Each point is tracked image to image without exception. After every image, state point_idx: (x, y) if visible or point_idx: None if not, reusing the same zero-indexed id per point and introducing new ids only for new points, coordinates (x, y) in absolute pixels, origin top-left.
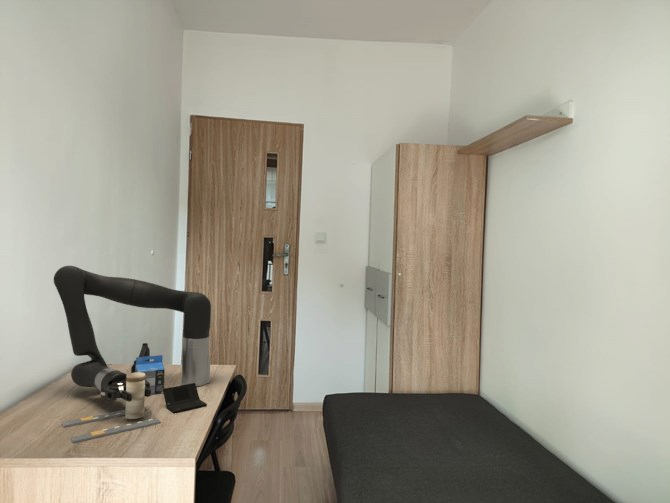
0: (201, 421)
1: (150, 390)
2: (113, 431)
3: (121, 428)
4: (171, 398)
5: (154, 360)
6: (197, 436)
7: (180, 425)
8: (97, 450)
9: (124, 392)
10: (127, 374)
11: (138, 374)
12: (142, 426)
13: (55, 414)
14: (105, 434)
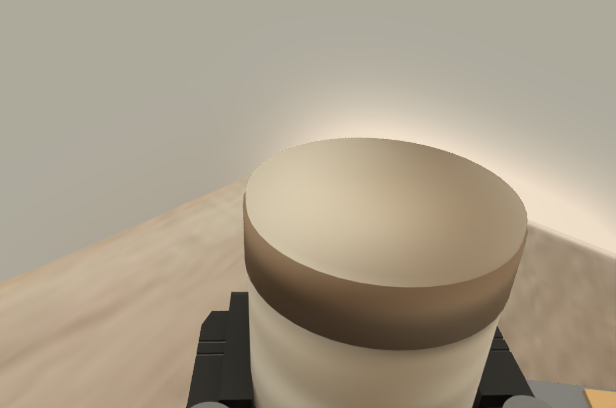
0: (91, 263)
1: (219, 314)
2: (531, 388)
3: None
4: None
5: None
6: (224, 194)
7: (190, 282)
8: (598, 287)
9: (497, 371)
10: (506, 248)
11: (346, 184)
12: None
13: None
14: (579, 387)
